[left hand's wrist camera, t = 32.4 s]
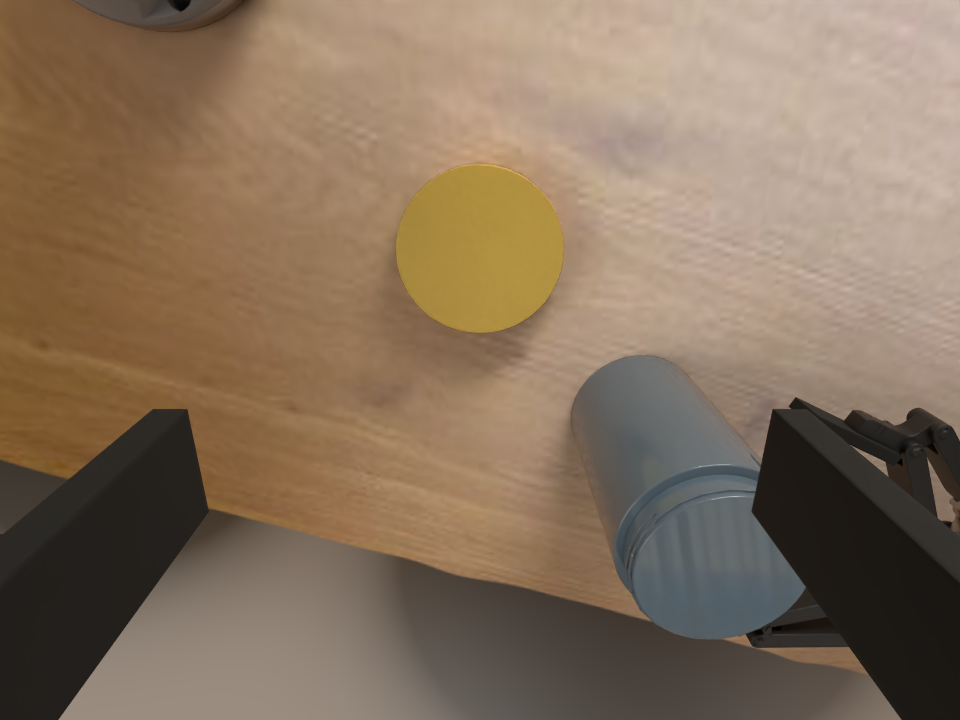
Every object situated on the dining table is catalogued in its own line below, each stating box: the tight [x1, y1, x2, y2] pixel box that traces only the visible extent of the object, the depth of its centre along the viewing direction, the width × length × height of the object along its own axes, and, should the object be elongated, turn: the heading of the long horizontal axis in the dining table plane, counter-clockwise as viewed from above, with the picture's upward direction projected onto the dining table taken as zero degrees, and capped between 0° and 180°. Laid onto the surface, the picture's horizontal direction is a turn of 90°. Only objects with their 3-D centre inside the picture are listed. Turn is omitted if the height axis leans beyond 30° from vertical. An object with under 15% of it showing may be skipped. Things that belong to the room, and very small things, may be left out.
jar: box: [571, 356, 806, 640], centre depth 35 cm, size 10×10×17 cm
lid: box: [396, 163, 564, 333], centre depth 37 cm, size 11×11×2 cm
